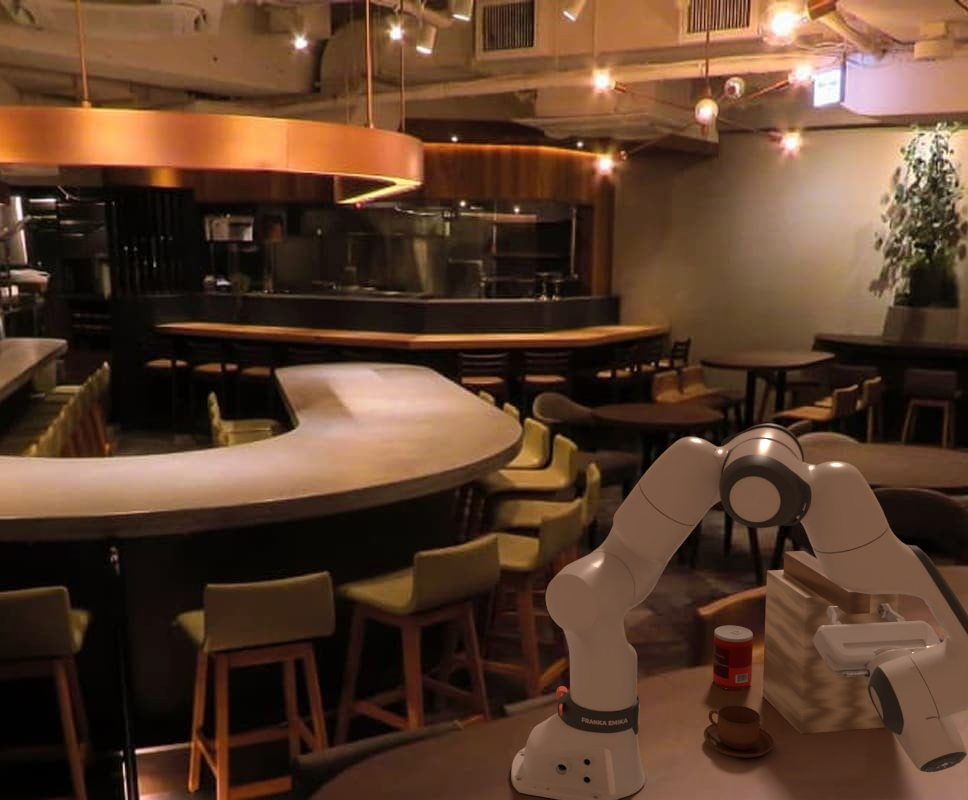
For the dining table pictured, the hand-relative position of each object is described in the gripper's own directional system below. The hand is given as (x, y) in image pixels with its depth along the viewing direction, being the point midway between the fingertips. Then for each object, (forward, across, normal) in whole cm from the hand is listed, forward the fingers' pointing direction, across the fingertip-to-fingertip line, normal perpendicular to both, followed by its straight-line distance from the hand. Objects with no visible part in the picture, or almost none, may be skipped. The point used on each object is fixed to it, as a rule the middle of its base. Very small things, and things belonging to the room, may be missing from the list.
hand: (856, 607), depth 159 cm
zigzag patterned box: (0, +4, -31) cm, 31 cm away
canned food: (+13, -8, -39) cm, 42 cm away
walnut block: (+9, 0, -6) cm, 11 cm away
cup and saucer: (-9, -18, -26) cm, 33 cm away
